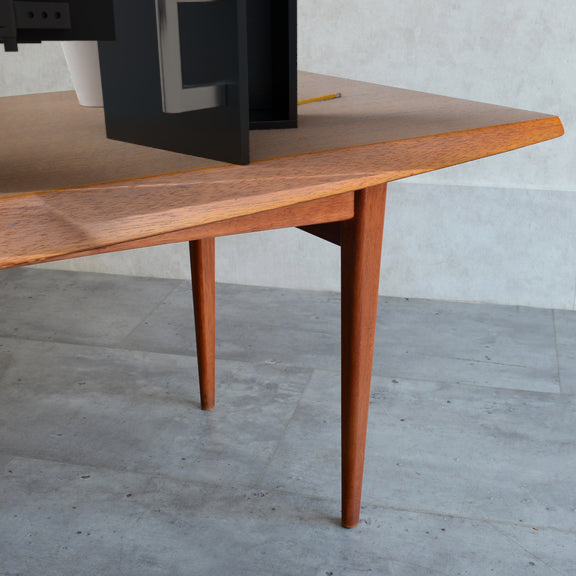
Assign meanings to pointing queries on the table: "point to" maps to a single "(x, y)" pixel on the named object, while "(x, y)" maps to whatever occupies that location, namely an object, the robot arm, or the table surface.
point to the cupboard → (272, 64)
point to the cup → (84, 71)
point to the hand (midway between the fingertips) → (71, 21)
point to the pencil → (318, 98)
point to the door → (178, 77)
